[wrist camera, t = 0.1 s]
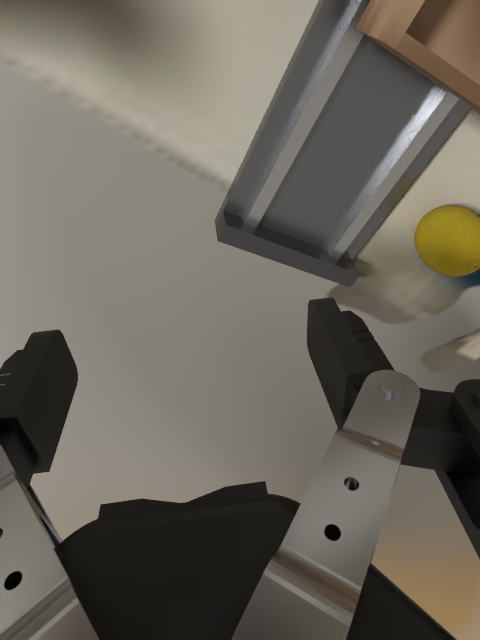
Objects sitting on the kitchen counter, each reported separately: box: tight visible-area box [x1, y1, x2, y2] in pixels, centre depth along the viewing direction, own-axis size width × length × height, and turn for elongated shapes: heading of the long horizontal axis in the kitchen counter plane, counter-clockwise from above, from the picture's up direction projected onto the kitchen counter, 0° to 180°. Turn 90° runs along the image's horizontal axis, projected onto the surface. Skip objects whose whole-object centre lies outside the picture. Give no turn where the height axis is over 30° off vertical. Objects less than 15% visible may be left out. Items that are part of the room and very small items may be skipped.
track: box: [215, 0, 471, 287], centre depth 28 cm, size 28×14×3 cm, turn 154°
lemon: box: [414, 205, 480, 277], centre depth 35 cm, size 6×6×8 cm
